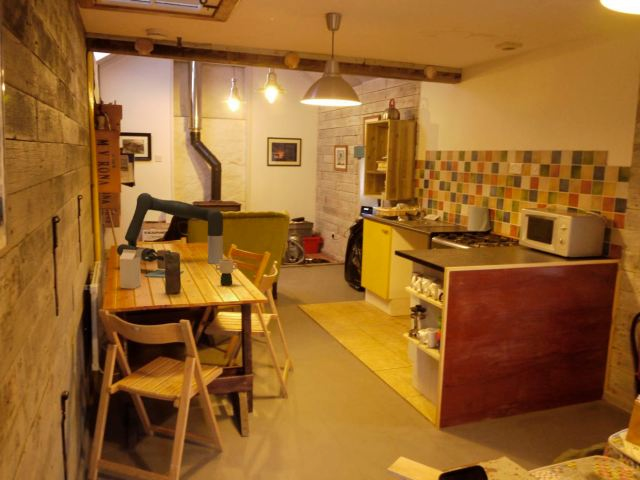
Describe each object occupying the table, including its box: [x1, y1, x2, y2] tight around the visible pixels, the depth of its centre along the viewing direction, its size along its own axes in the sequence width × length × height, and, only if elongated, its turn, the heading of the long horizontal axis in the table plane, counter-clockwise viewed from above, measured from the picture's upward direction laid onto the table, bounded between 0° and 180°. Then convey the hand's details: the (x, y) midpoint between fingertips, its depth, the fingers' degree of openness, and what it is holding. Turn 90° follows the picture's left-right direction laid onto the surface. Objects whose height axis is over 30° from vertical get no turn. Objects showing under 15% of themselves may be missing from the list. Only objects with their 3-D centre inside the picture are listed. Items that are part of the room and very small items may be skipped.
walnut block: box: [156, 249, 172, 270], centre depth 300 cm, size 5×5×10 cm
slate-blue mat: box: [144, 269, 185, 279], centre depth 301 cm, size 16×16×1 cm
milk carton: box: [119, 249, 142, 290], centre depth 270 cm, size 7×7×19 cm
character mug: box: [215, 258, 238, 286], centre depth 279 cm, size 11×7×13 cm, turn 106°
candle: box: [164, 251, 182, 295], centre depth 261 cm, size 8×7×20 cm
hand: (167, 257), depth 299 cm, fingers closed on walnut block, 5 cm apart
